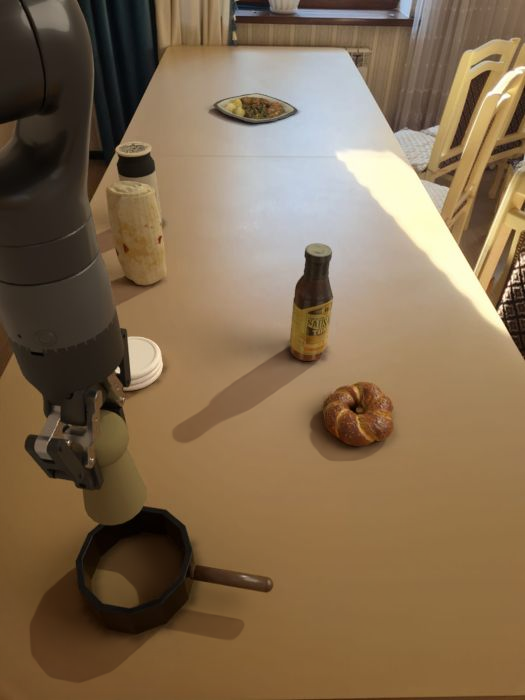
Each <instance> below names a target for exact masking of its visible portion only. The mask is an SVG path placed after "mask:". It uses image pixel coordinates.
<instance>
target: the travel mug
mask: <svg viewBox="0 0 525 700" xmlns="http://www.w3.org/2000/svg"><path fill="white" fill-rule="evenodd" d="M151 151H152V146H151V144H149V143H147V142H144V141H138V140H137V141H126V142H123V143H120V144H118V145H117V146H116V147H115V149H114V152H115V154H116V155H117V157H118V159H117V162H116V169H117V174H118V175H117V176H118V180H119V181H134V182H138V183H142V184H148V185H150V186H152V187H153V188H154V190H155V193H156V202H157V206H158V210H159V214H160V219H161V225H162V226H163V216H162V210H161V202H160V201H161V200H160V194H159V187H158V186H159V185H158V179H157V171H156V163H155V160H154V159H153V157H152V156H151ZM119 181H118V182H119Z"/></svg>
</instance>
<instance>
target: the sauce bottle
mask: <svg viewBox="0 0 525 700" xmlns="http://www.w3.org/2000/svg"><path fill="white" fill-rule="evenodd" d="M332 258H333V250H332V247H330V246H329V245H327V244H324V243H318V242H313V243H310V244H308V245H307V246H306V247H305V249H304V259H305V261H304V268H303V274H302V275H301V276H300V278H299V279H298V280H297V282H296V284H295V288H294V296H293V302H292V312H291V313H292V314H291V324H290V334H289V335H290V336H289V344H290V345H289V351H290V353H291V354H292V356H293V357H294V358H296V359H298V360H300V361H305V362H312V361H317V360H319V359H321V358H322V356H323V355H324V353H325V352H326V348H327V344H328V337H329V332H330V331H329V330H330V323H331V316H332V310H333V309H332V308H333V303H334V302H333V301H334V295H333V290H332V287H331V282H330V276H329V275H330V271H329V270H330V262H331V260H332Z"/></svg>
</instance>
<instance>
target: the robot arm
mask: <svg viewBox="0 0 525 700" xmlns="http://www.w3.org/2000/svg"><path fill="white" fill-rule="evenodd" d="M93 51H94V50H93V43H92V39H91V34H90V31H89V28H88V24H87V21H86V18H85V15H84V13H83V12H82V9H81V7H80V4H79V2H78V0H0V125H4V124H8V123H13V122H15V123H14V126H13V131H12V135H11V137H10V139H9V140H8V142H7V143H6V144H5V145H3V146H2V148H0V322H1V324H2V327H3V329H4V332H5V334H6V337H7V339H8V342H9V345H10V347H11V349H12V352H13V354H14V357H15V360H16V362H17V364H18V365H17V366H18V367H19V370H20V373H21V374H22V376H23V378H24V379H25V380H26V382H27V383H28V384H30V385H31V386H32V387H34V389H36V390H37V392H39V394H41V396H42V402H43V403H42V404H43V405H42V408H43V409H42V410H43V414H44V416H45V418H46V420H45V422H44V424H43V427H42V429H41V431H40V433H39V434H32V433H30V434H28V435H27V436H26V438H25V440H24V444H23V445H24V450H25V452H27V454H28V455H29V456H30V457H31V458H32V460H33V461H34V462H35V463H36V464H37V466H38V467H39V468H40V469H41V470H42V471H43V472H44V474H45V475H46V476H47V477H48V478H49V479H54V480H63V481H69V482H70V481H71V482H73V483H74V486H75V488H76V489H80V490H83V489H86V490H92V491H94V489H95V490H99V489H101V487H102V484H103V482H104V480H103V477H102V474H101V470H100V467H99V464H98V461H97V458H95V441H96V440H97V439H98V438H99V437H100V410H108V411H111V412H114V413H116V414H117V415H119V416H120V417H121V418H122V419H123V420H124V422H125V424H126V425H127V426H128V424H127V420H126V416H125V411H124V407H123V406H124V405H125V402H126V395H125V393H124V392H123V391H124V390H123V388H124V387H126V388H128V387H129V386H130V383H131V372H130V360H129V349H128V337H129V336H128V330H127V328H124V327H121V324H120V320H119V315H118V311H117V306H116V301H115V297H114V292H113V288H112V282H111V278H110V274H109V270H108V268H107V264H106V263H105V260H104V257H103V255H102V252H101V249H100V245H99V240H98V235H97V231H96V226H95V221H94V215H93V211H92V207H91V204H90V199H89V195H88V177H89V163H90V161H89V160H90V145H91V144H90V140H91V129H92V116H93V114H92V113H93V102H94V92H95V91H94V90H95V62H94V52H93ZM117 367H119V368H120V373H116V372H115V370H116V369H117ZM71 425H75V426H86V425H87V429H84V428H78V427H71ZM72 443H76V444H80V445H81V446H82V448H83V451H76V450H73V449H72Z"/></svg>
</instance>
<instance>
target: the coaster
mask: <svg viewBox="0 0 525 700" xmlns="http://www.w3.org/2000/svg"><path fill="white" fill-rule="evenodd" d="M127 337H128V349H129V360H130V372H131V383H130V386H129V387H128V388H126V387H124V388H123V391H126V392H127V391H129V392H130V391H136V390H141V389H144V388H146V387H148V386H150V385H151V384H153V383H154V382H155V381H157V379H158V378H159V377H160V376H161V374H162V372H163V368H164V363H163V356H162V351H161V349H160V346H158V344H157V343H156V342H155V341H153V340H151V339H149V338H147V337H143V336H127ZM115 372H116V373H120V368H119V367H117V369H116V370H115Z"/></svg>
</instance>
